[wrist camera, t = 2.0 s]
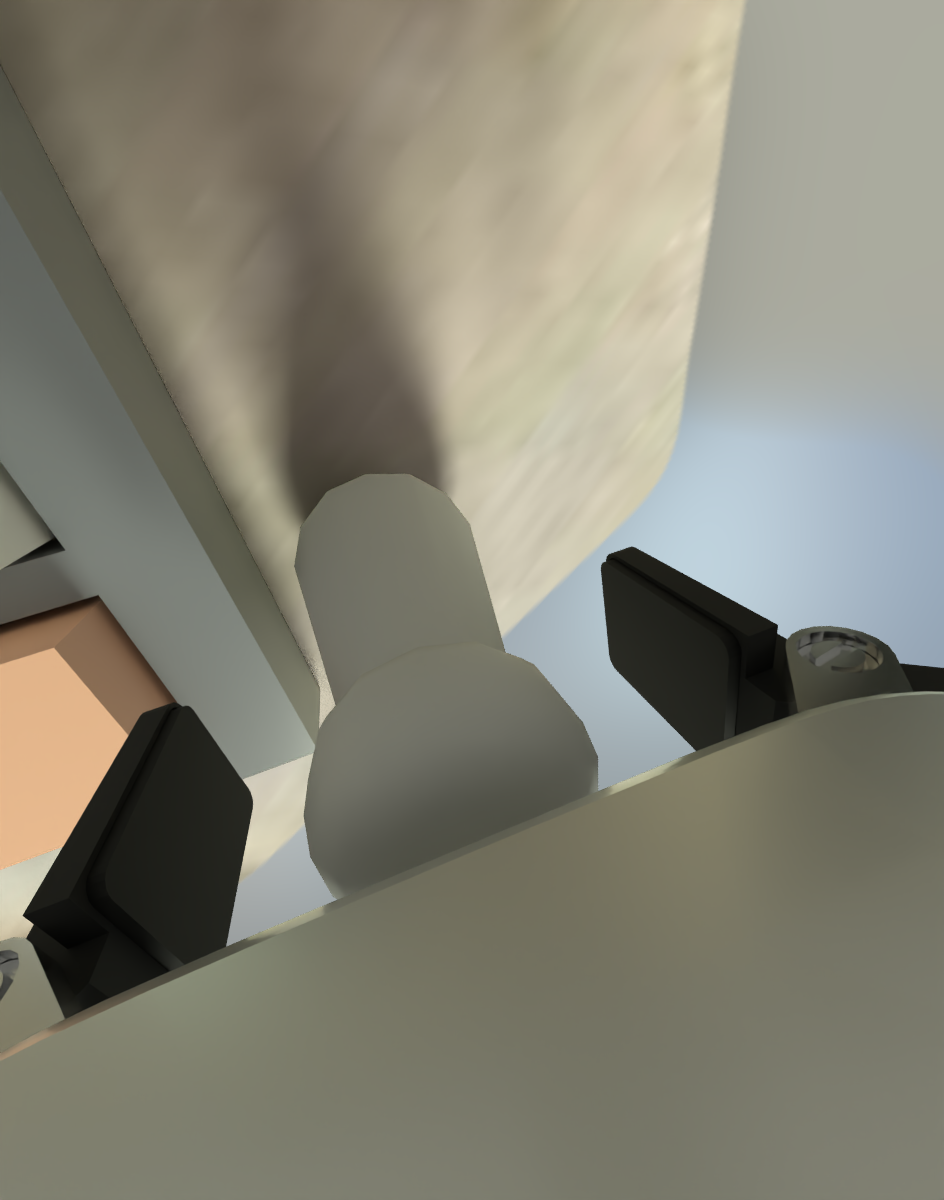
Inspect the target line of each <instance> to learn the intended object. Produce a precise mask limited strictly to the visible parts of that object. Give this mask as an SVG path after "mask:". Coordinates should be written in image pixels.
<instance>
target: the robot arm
mask: <svg viewBox="0 0 944 1200" xmlns="http://www.w3.org/2000/svg"><path fill="white" fill-rule="evenodd" d="M601 575H602V585H603V596H604V606H605V616H606V626H607V636H608V647H609V655H610V660H611V662H612V664H613V666H614V668H615V669H616V670H617V671H618V672H619V673H620V674H621V675H622V676H623V677H624V678H625V679H626V680H627V681H628V682H629V683H630V684H631V685H632V686H633V687H634V688H635V689H636V690H637V691H638V693H639V694H641V696H642V697H643V698H645V700H647V702H648V703H649V704H650V705H651V706H652V707H653V708H654V709H655V710H656V711H657V712H658V713H659V714H660V715H661V716H662V717H663V718H664V719H666V721H667V722H668V723H669V724H670V725H671V726H672V727H673V728H674V729H675V730H676V731H677V732H678V733H679V734H680V735H681V736H682V737H683V738H684V739H685V740H686V741H687V742H688V743H689V744H690V745H691V746H692V747H693V748H694V749H695V750H696V752H693V753H691V754H688V755H686V756H683V757H680V758H678V759H676V760H673V761H671V762H669V763H666V764H663V765H661V766H659V767H656V768H654V769H651V770H649V771H647V772H644V773H641V774H639V775H637V776H634V777H632V778H629V779H627V780H624V781H622V782H620V783H617V784H615V785H612V786H610V787H607V788H605V789H602V790H600V791H598V792H595V793H593V794H590V795H588V796H585V797H583V798H580V799H578V800H576V801H573V802H571V803H568V804H566V805H563V806H561V807H558V808H556V809H554V810H551V811H549V812H546V813H544V814H542V815H539V816H537V817H534V818H532V819H530V820H527V821H525V822H522V823H520V824H517V825H515V826H513V827H510V828H508V829H505V830H503V831H501V832H498V833H496V834H493V835H491V836H489V837H486V838H484V839H481V840H479V841H477V842H474V843H472V844H469V845H467V846H465V847H462V848H460V849H457V850H455V851H453V852H450V853H448V854H445V855H443V856H441V857H438V858H436V859H433V860H431V861H429V862H426V863H424V864H421V865H419V866H417V867H414V868H412V869H409V870H407V871H405V872H402V873H400V874H397V875H395V876H393V877H390V878H388V879H385V880H383V881H381V882H378V883H376V884H374V885H371V886H369V887H366V888H364V889H362V890H359V891H357V892H355V893H352V894H350V895H348V896H345V897H343V898H340V899H338V900H336V901H334V902H331V903H329V904H327V905H324V906H322V907H319V908H317V909H315V910H312V911H310V912H308V913H305V914H303V915H300V916H298V917H296V918H293V919H291V920H288V921H286V922H284V923H281V924H279V925H277V926H274V927H272V928H269V929H267V930H265V931H262V932H260V933H258V934H255V935H253V936H251V937H248V938H246V939H243V940H241V941H239V942H236V943H234V944H232V945H229V946H227V947H226V943H227V938H228V933H229V928H230V923H231V917H232V913H233V907H234V902H235V897H236V892H237V887H238V881H239V876H240V871H241V866H242V861H243V856H244V850H245V845H246V840H247V835H248V830H249V824H250V819H251V814H252V809H253V800H252V795H251V792H250V790H249V789H248V787H247V786H246V784H245V783H244V782H243V780H242V779H241V777H240V776H239V774H238V773H237V772H236V770H235V769H234V767H233V766H232V764H231V763H230V761H229V760H228V759H227V757H226V756H225V754H224V753H223V751H222V750H221V749H220V747H219V746H218V744H217V743H216V741H215V740H214V739H213V737H212V736H211V734H210V733H209V731H208V730H207V729H206V727H205V726H204V724H203V723H202V721H201V720H200V718H199V717H198V716H197V714H196V713H195V711H194V710H193V709H192V708H191V707H190V706H183V707H182V706H181V705H180V704H178V703H175V702H173V703H170V704H167V705H164V706H161V707H158V708H155V709H152V710H149V711H146V712H144V713H142V714H141V715H140V717H139V718H138V720H137V722H136V723H135V725H134V727H133V729H132V730H131V732H130V734H129V735H128V737H127V739H126V740H125V742H124V744H123V746H122V747H121V749H120V751H119V752H118V754H117V756H116V757H115V759H114V761H113V763H112V764H111V766H110V768H109V769H108V771H107V773H106V775H105V776H104V778H103V780H102V781H101V783H100V785H99V786H98V788H97V790H96V792H95V793H94V795H93V797H92V798H91V800H90V802H89V803H88V805H87V807H86V809H85V810H84V812H83V814H82V815H81V817H80V819H79V821H78V822H77V824H76V826H75V827H74V829H73V831H72V832H71V834H70V836H69V838H68V839H67V841H66V843H65V844H64V846H63V848H62V850H61V851H60V853H59V855H58V856H57V858H56V860H55V861H54V863H53V865H52V867H51V868H50V870H49V872H48V873H47V875H46V877H45V878H44V880H43V882H42V884H41V885H40V887H39V889H38V890H37V892H36V894H35V896H34V897H33V899H32V901H31V902H30V904H29V906H28V907H27V909H26V911H25V913H24V914H23V916H24V917H25V918H26V919H28V920H29V921H30V922H32V923H33V924H34V925H33V927H32V929H31V931H30V932H29V934H28V936H27V938H15V937H13V938H10V939H7V940H4V941H0V1200H944V668H938V667H929V666H919V665H909V664H900V663H899V661H898V659H897V657H896V655H895V653H894V652H893V651H892V650H891V648H890V647H889V646H888V645H886V644H885V643H883V642H882V641H880V640H879V639H877V638H875V637H873V636H871V635H868V634H866V633H863V632H860V631H856V630H852V629H848V628H842V627H833V626H822V627H821V626H818V627H810V628H805V629H801V630H799V631H797V632H795V633H793V634H792V635H791V636H790V637H789V638H788V639H786V638H784V637H782V636H780V635H778V634H777V629H778V625H777V624H775V623H773V622H771V621H770V620H768V619H766V618H764V617H762V616H760V615H758V614H756V613H754V612H753V611H751V610H749V609H747V608H746V607H744V606H742V605H740V604H738V603H736V602H735V601H732V600H731V599H729V598H727V597H725V596H723V595H722V594H720V593H718V592H716V591H714V590H712V589H711V588H709V587H707V586H705V585H703V584H701V583H700V582H698V581H696V580H694V579H692V578H690V577H688V576H687V575H684V574H683V573H681V572H679V571H677V570H676V569H674V568H672V567H670V566H668V565H666V564H664V563H663V562H661V561H659V560H657V559H655V558H653V557H651V556H650V555H648V554H646V553H644V552H642V551H640V550H639V549H637V548H635V547H629V548H626V549H623V550H620V551H617V552H614V553H611V554H609V555H608V556H607V559H606V562H604V563H602V565H601Z"/></svg>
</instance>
